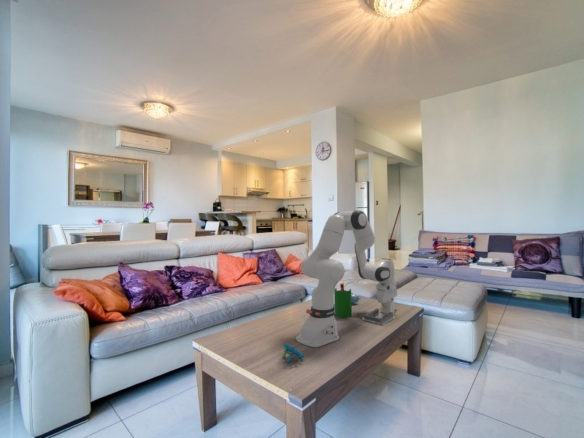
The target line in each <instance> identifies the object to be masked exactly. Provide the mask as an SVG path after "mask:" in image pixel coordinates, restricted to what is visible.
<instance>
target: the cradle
mask: <svg viewBox="0 0 584 438" xmlns="http://www.w3.org/2000/svg"><path fill="white" fill-rule="evenodd" d="M395 319H396V316H395V315H394V313H393V312H390V313H389V314H386V313H382V312H379V309H378V308H375V309H374V310H372V311H370V312H368V313H365V314H364V315H363V317H362V318H361V320H362V321H364V322H368V323H372V324H376V325H380V326H385V325H387V324H388V323H390V322H392V321H393V320H395Z"/></svg>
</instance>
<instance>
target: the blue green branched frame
mask: <svg viewBox="0 0 584 438" xmlns="http://www.w3.org/2000/svg"><path fill="white" fill-rule="evenodd" d="M282 346H283V350H284V351H283V352H284V353H283V355H282V359H284V358H285V356H286V354H288V355H289V357H288V359H287V360H286V362H287V363H288V364H290V362H291V361H292V358H293V357H294V355H295V356H297V357H298V358H301V359H304V358H305V355H304V354H302V352H301V351H298V350H297V348H295V347H293V346H292V345H289V344H288V343H283V345H282Z"/></svg>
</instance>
